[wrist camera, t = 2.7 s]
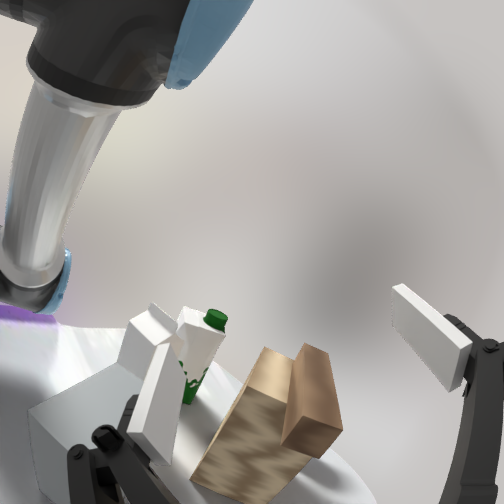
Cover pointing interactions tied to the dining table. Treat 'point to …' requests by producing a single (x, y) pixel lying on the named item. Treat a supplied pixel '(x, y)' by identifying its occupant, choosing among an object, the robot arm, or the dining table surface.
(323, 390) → the bar
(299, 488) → the dining table surface
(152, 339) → the milk
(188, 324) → the milk carton
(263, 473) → the oak block
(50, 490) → the grey block
